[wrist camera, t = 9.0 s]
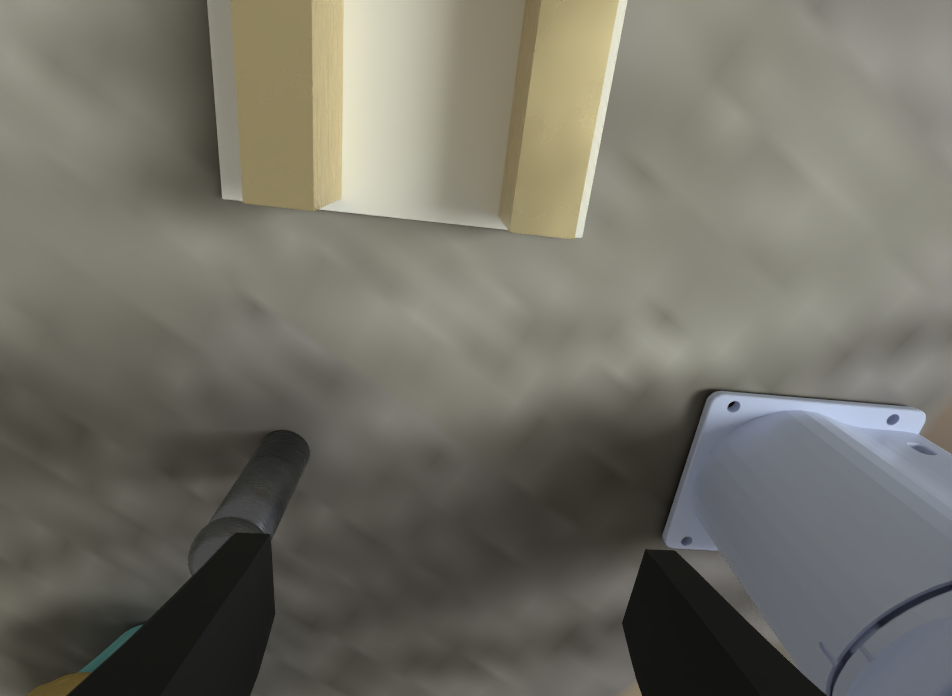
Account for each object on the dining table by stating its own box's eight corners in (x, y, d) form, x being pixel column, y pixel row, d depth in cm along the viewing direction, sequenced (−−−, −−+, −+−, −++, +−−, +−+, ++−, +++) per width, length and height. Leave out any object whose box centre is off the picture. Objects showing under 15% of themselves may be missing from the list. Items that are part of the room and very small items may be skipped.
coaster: (663, -219, 13) (672, -235, 12) (577, 235, 17) (581, 238, 17) (194, -310, 12) (181, -333, 11) (230, 197, 16) (222, 198, 16)
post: (311, 430, 20) (250, 554, 14) (312, 474, 21) (254, 610, 15) (256, 426, 20) (168, 550, 14) (259, 471, 21) (177, 607, 14)
